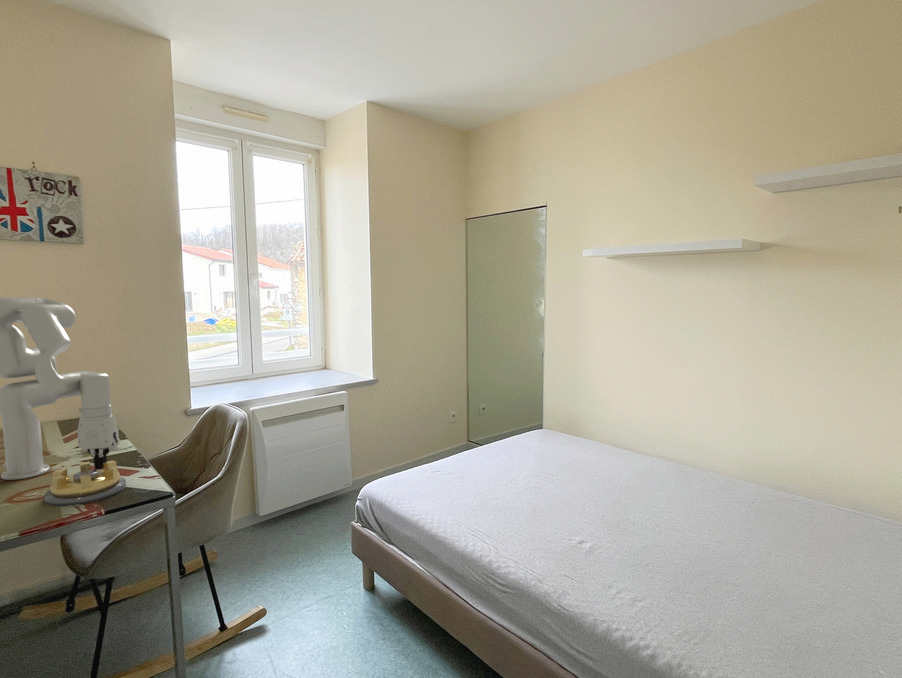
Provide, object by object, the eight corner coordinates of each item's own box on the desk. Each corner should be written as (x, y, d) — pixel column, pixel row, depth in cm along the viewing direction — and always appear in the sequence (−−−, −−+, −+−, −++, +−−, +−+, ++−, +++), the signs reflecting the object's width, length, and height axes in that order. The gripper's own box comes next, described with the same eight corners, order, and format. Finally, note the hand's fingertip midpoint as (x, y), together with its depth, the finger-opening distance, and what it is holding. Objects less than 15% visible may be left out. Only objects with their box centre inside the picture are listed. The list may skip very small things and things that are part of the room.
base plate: (28, 501, 144) (27, 495, 144) (96, 477, 163) (96, 472, 163) (75, 510, 138) (75, 504, 137) (141, 484, 156) (140, 479, 156)
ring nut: (52, 485, 152) (50, 468, 151) (118, 473, 162) (117, 456, 161) (49, 503, 138) (48, 484, 138) (121, 488, 148) (120, 471, 148)
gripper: (64, 415, 151) (68, 472, 153) (112, 414, 152) (116, 472, 153) (82, 409, 159) (85, 464, 160) (128, 409, 159) (131, 464, 161)
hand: (100, 468), depth 157 cm, fingers closed
